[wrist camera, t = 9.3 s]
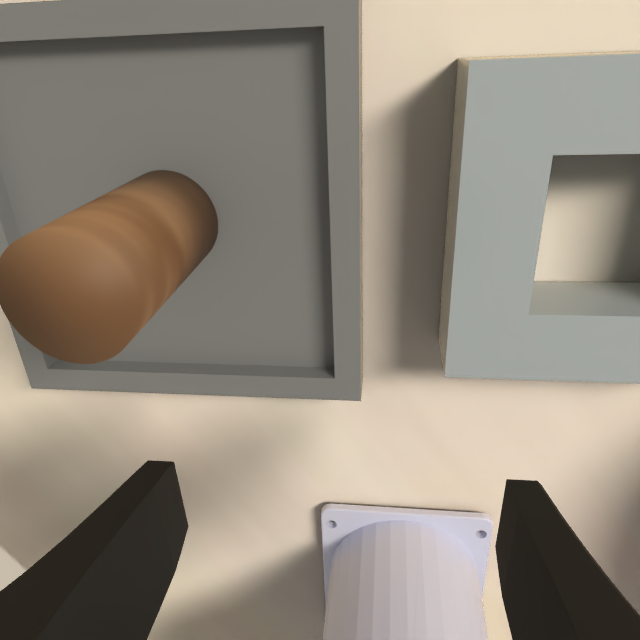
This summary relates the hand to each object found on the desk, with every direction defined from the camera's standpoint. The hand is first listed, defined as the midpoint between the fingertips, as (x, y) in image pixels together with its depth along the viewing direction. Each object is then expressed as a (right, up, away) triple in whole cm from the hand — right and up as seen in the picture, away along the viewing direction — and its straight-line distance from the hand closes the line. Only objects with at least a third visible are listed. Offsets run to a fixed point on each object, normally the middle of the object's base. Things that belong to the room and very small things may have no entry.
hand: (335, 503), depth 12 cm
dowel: (-6, +8, +8) cm, 12 cm away
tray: (-6, +8, +9) cm, 13 cm away
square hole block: (+9, +8, +7) cm, 14 cm away
